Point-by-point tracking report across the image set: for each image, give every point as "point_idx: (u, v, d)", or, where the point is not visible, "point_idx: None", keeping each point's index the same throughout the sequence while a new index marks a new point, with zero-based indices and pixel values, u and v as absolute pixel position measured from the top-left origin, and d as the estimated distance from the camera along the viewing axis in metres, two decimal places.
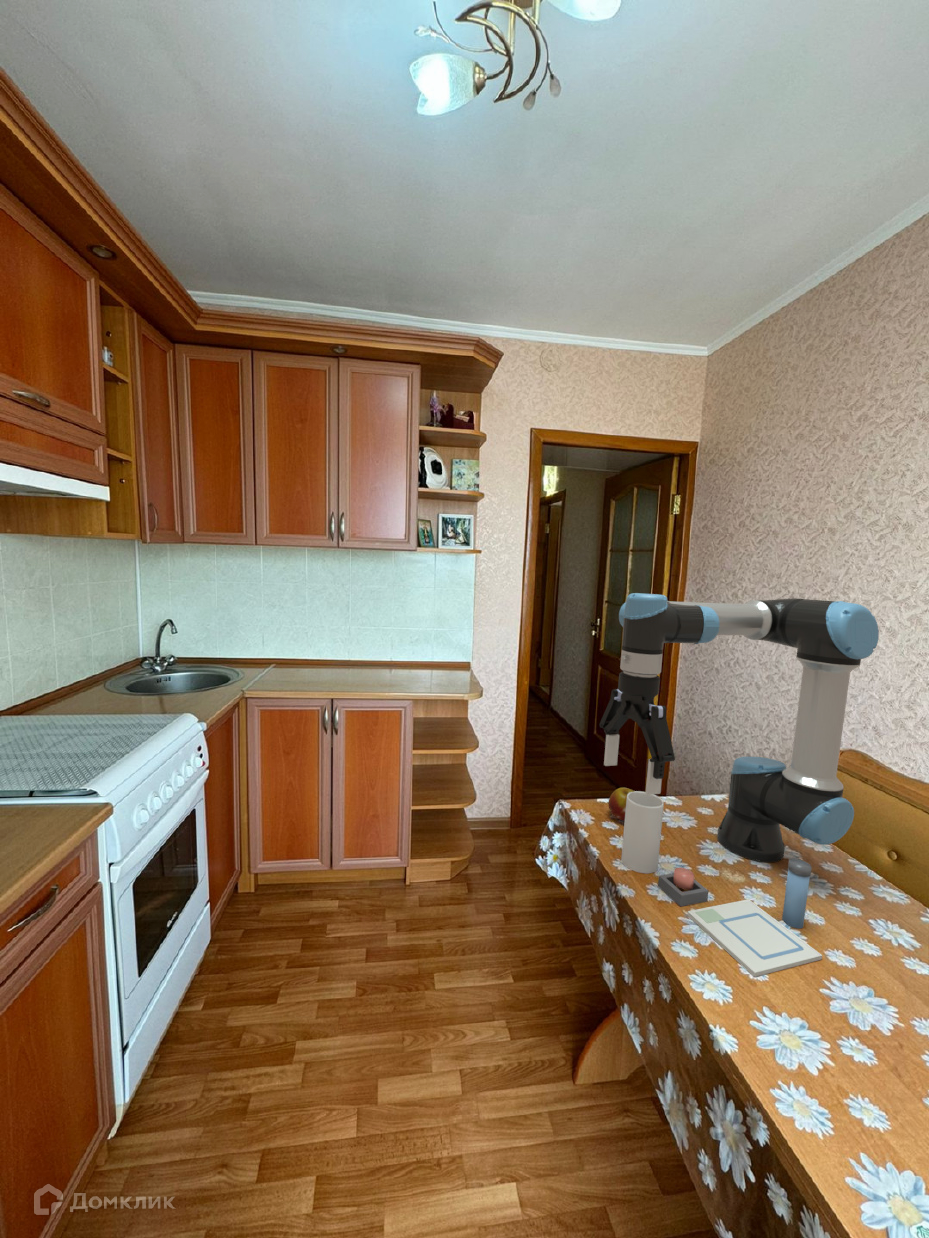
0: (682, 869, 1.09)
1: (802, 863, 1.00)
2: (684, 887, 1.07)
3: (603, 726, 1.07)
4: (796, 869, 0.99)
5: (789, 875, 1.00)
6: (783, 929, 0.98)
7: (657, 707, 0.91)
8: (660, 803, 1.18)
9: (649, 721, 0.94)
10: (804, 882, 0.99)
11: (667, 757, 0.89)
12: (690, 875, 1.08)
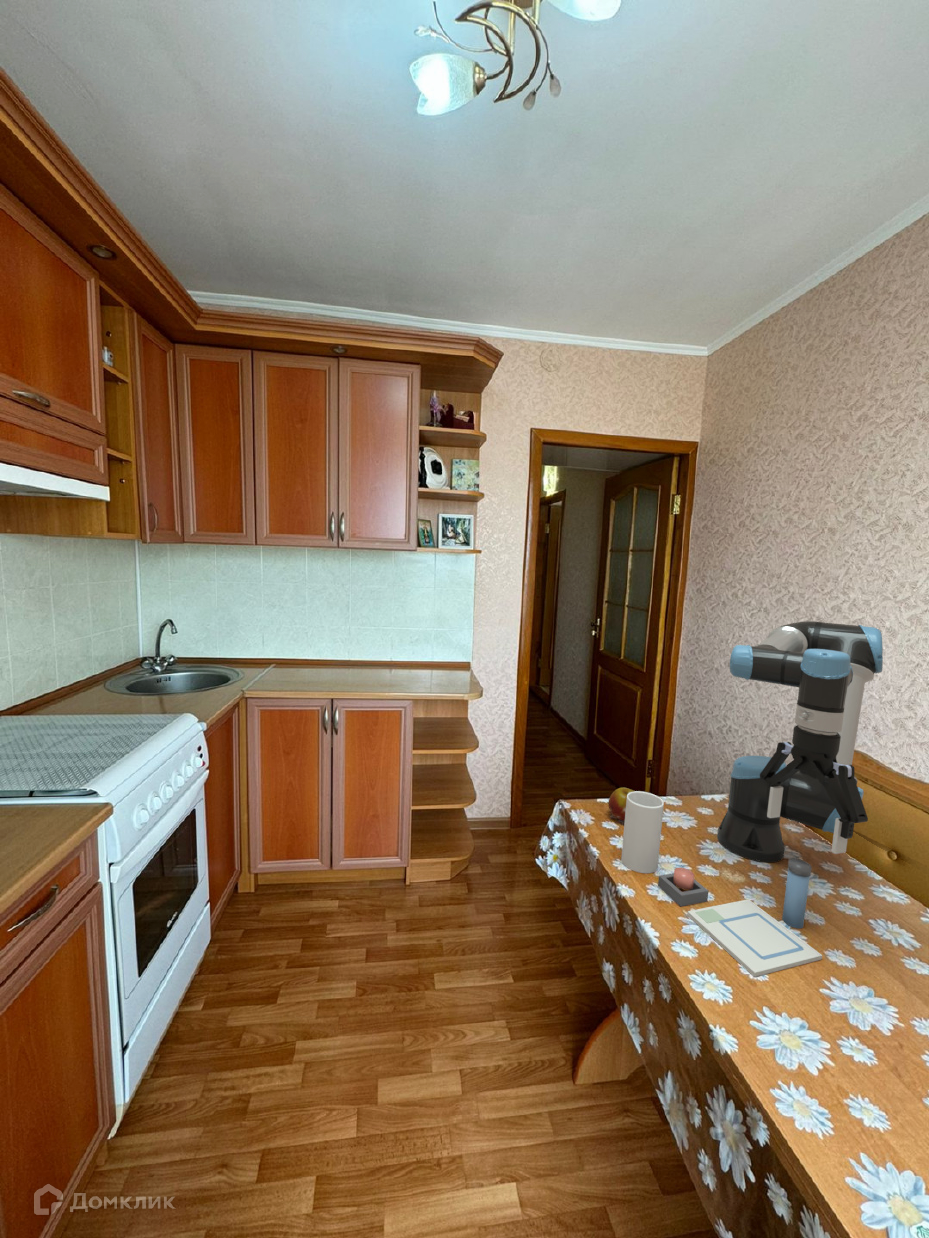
0: (682, 869, 1.09)
1: (802, 863, 1.00)
2: (684, 887, 1.07)
3: (765, 777, 1.07)
4: (796, 869, 0.99)
5: (789, 875, 1.00)
6: (783, 929, 0.98)
7: (846, 767, 0.91)
8: (660, 803, 1.18)
9: (832, 779, 0.94)
10: (804, 882, 0.99)
11: (861, 818, 0.89)
12: (690, 875, 1.08)
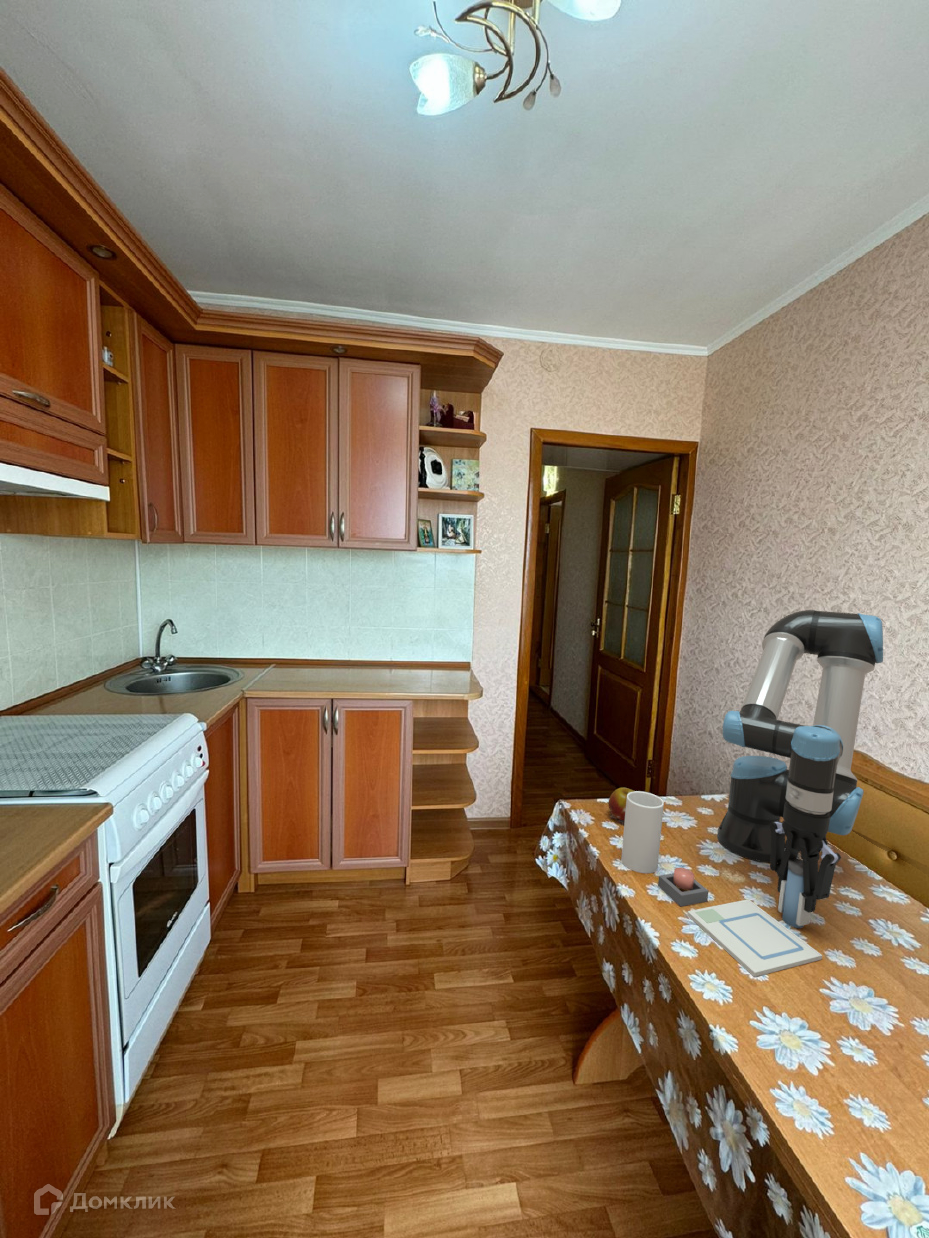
0: (682, 869, 1.09)
1: (802, 863, 1.00)
2: (684, 887, 1.07)
3: (775, 868, 1.04)
4: (796, 869, 0.99)
5: (789, 875, 1.00)
6: (783, 929, 0.98)
7: (833, 857, 0.93)
8: (660, 803, 1.18)
9: (814, 858, 0.98)
10: None
11: (822, 895, 0.95)
12: (690, 875, 1.08)
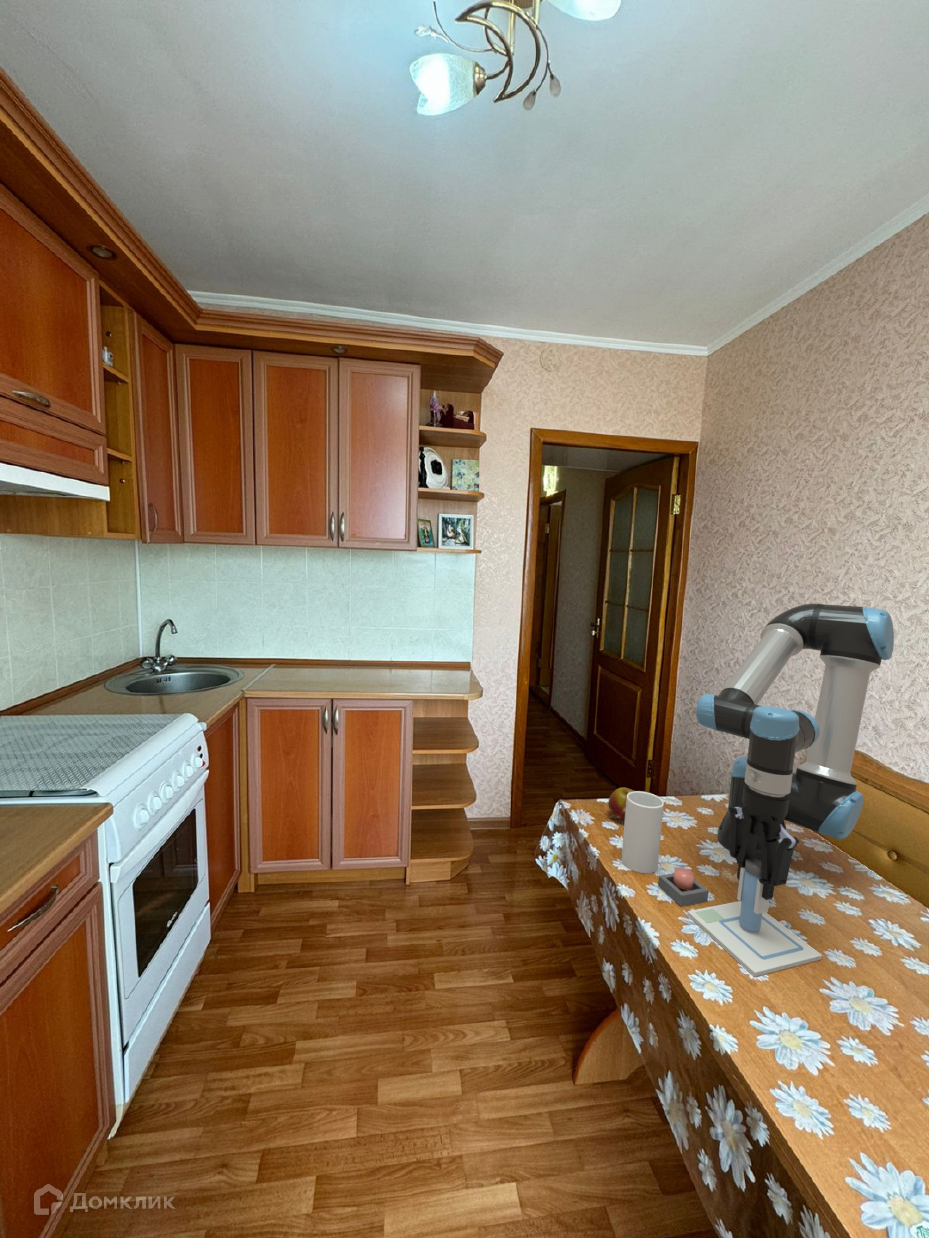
0: (682, 869, 1.09)
1: (759, 863, 0.97)
2: (684, 887, 1.07)
3: (735, 854, 1.00)
4: (753, 869, 0.95)
5: (746, 876, 0.97)
6: (783, 929, 0.98)
7: (791, 841, 0.90)
8: (660, 803, 1.18)
9: (772, 843, 0.94)
10: None
11: (779, 881, 0.92)
12: (690, 875, 1.08)
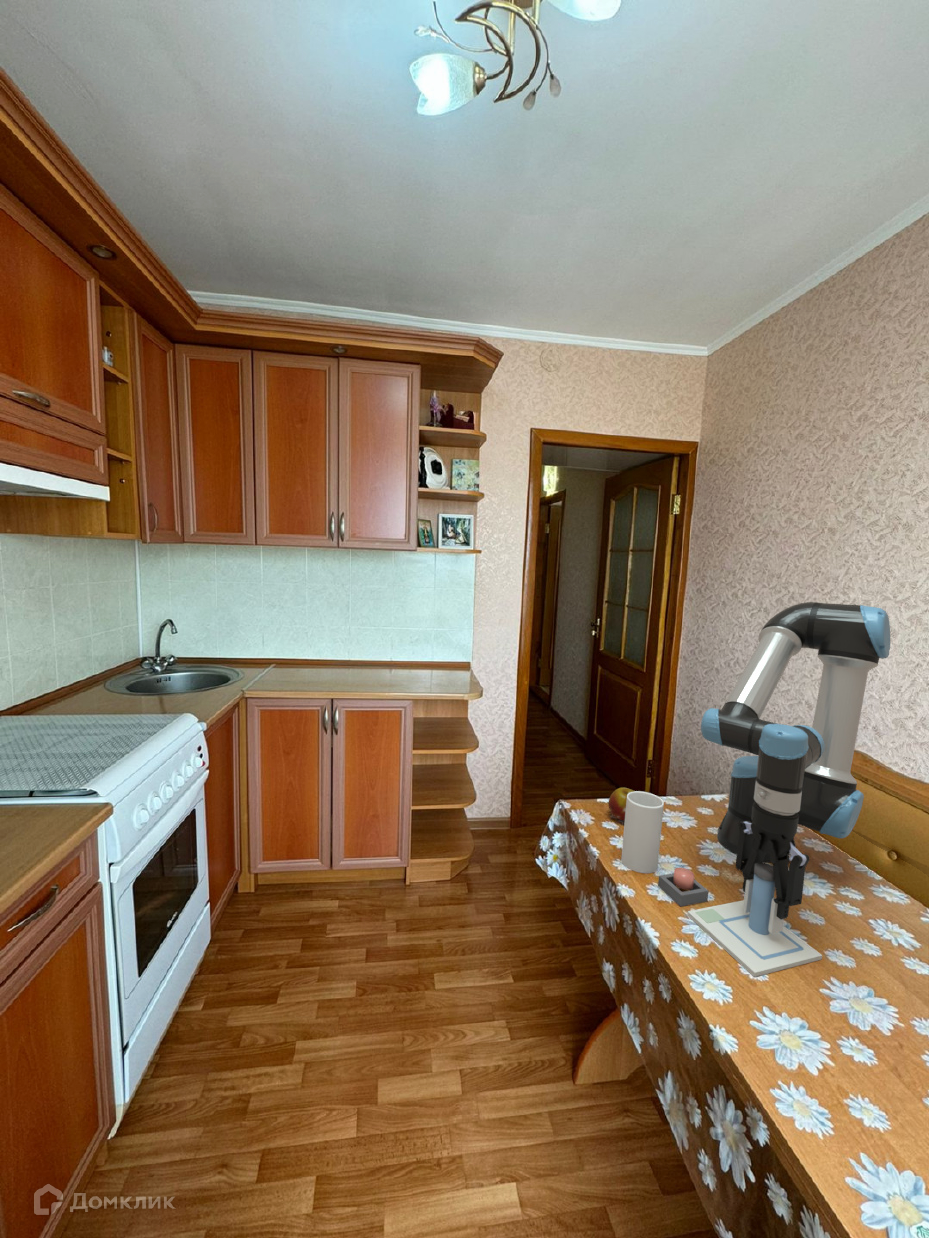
0: (682, 869, 1.09)
1: (768, 867, 0.97)
2: (684, 887, 1.07)
3: (741, 867, 1.01)
4: (762, 874, 0.95)
5: (755, 880, 0.97)
6: (783, 929, 0.98)
7: (801, 858, 0.90)
8: (660, 803, 1.18)
9: (783, 861, 0.94)
10: (770, 887, 0.95)
11: (794, 902, 0.91)
12: (690, 875, 1.08)
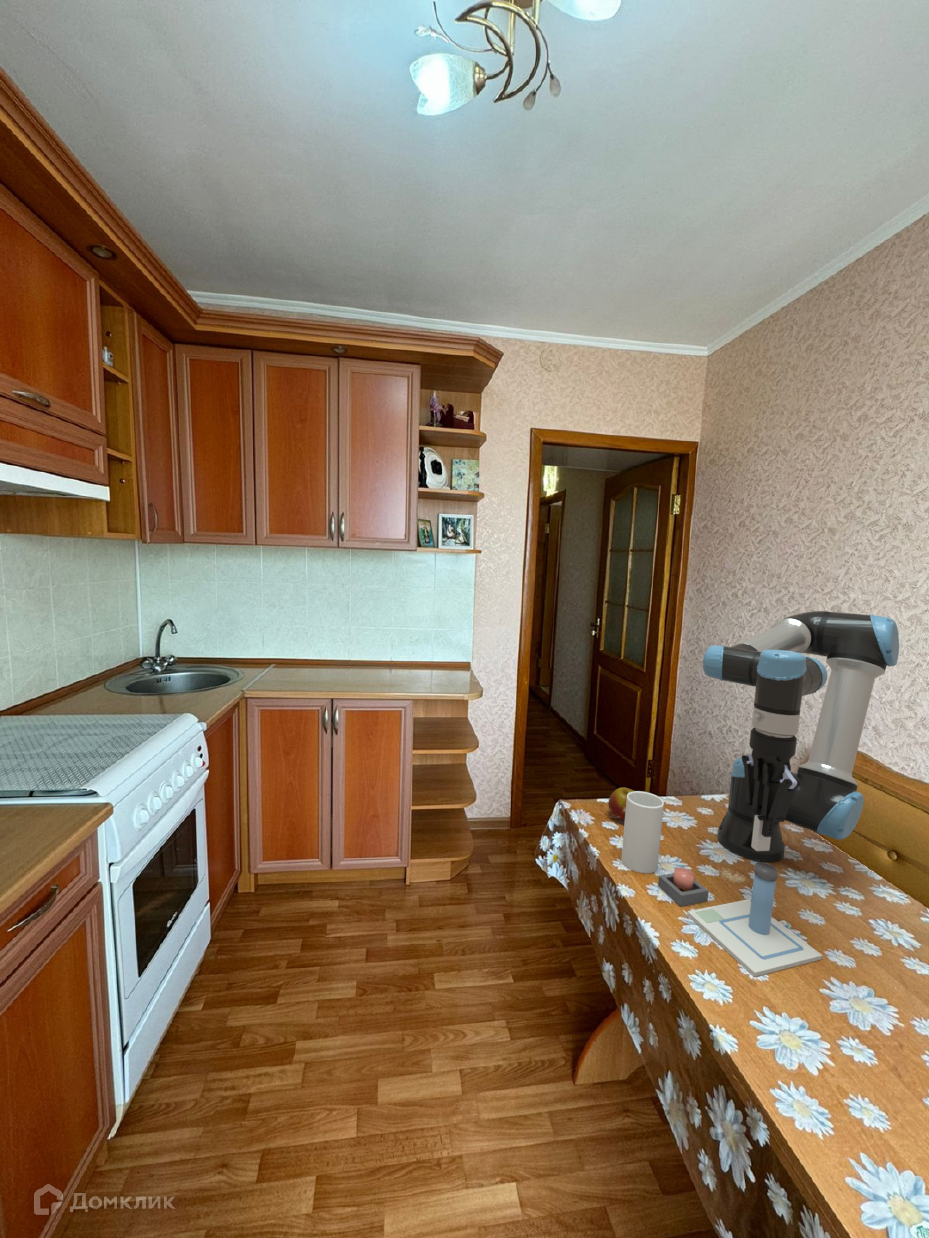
0: (682, 869, 1.09)
1: (768, 867, 0.97)
2: (684, 887, 1.07)
3: (750, 802, 0.99)
4: (762, 874, 0.95)
5: (755, 880, 0.97)
6: (783, 929, 0.98)
7: (791, 783, 0.90)
8: (660, 803, 1.18)
9: (776, 784, 0.95)
10: (771, 887, 0.95)
11: (776, 818, 0.93)
12: (690, 875, 1.08)
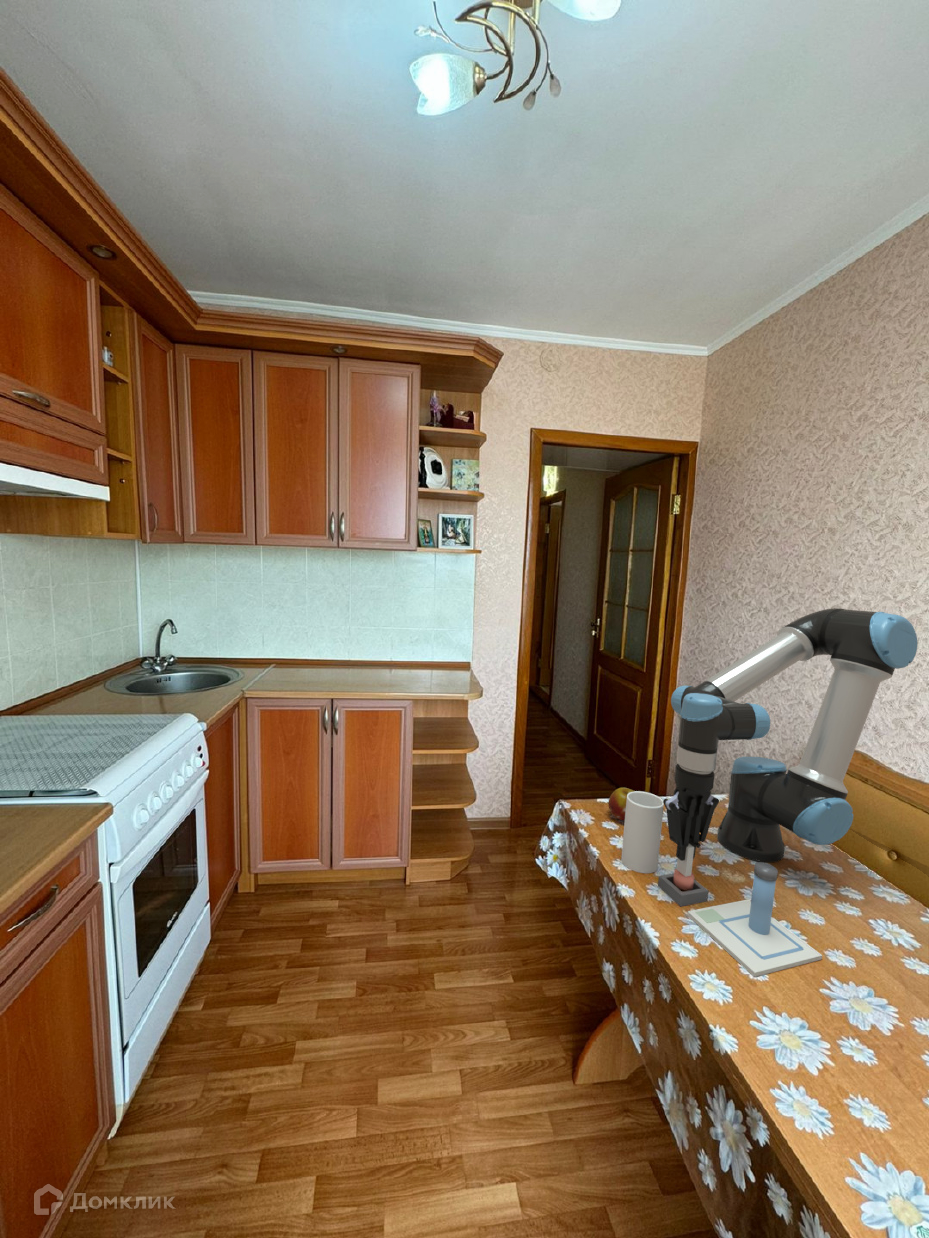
0: None
1: (768, 867, 0.97)
2: (684, 888, 1.07)
3: None
4: (762, 874, 0.95)
5: (755, 880, 0.97)
6: (783, 929, 0.98)
7: (665, 802, 1.05)
8: (660, 803, 1.18)
9: (683, 812, 1.06)
10: (771, 887, 0.95)
11: (672, 837, 1.07)
12: None
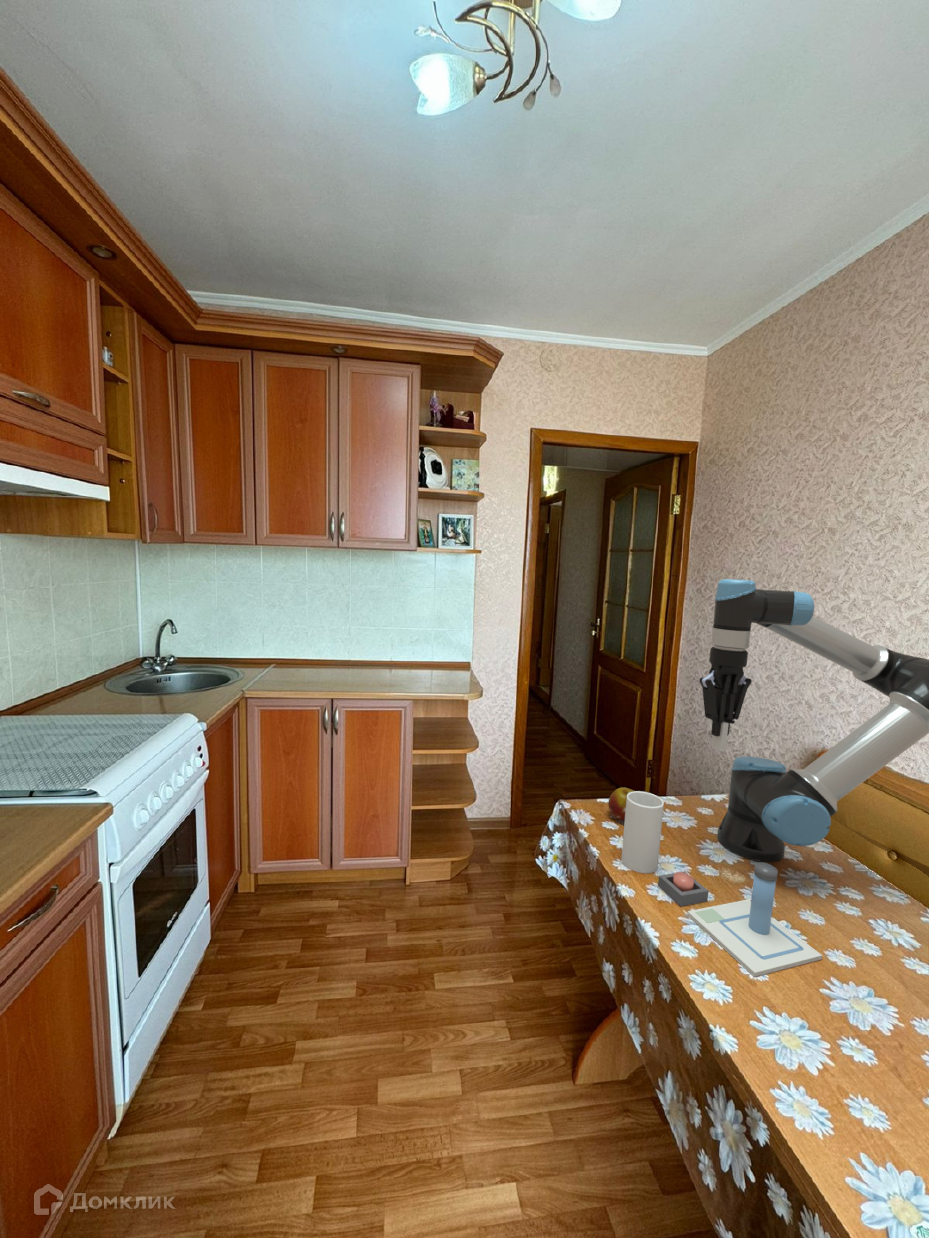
0: (682, 874, 1.10)
1: (768, 867, 0.97)
2: None
3: None
4: (762, 874, 0.95)
5: (755, 880, 0.97)
6: (783, 929, 0.98)
7: (701, 680, 1.12)
8: (660, 803, 1.18)
9: (718, 690, 1.13)
10: (771, 887, 0.95)
11: (707, 714, 1.14)
12: (690, 879, 1.08)
